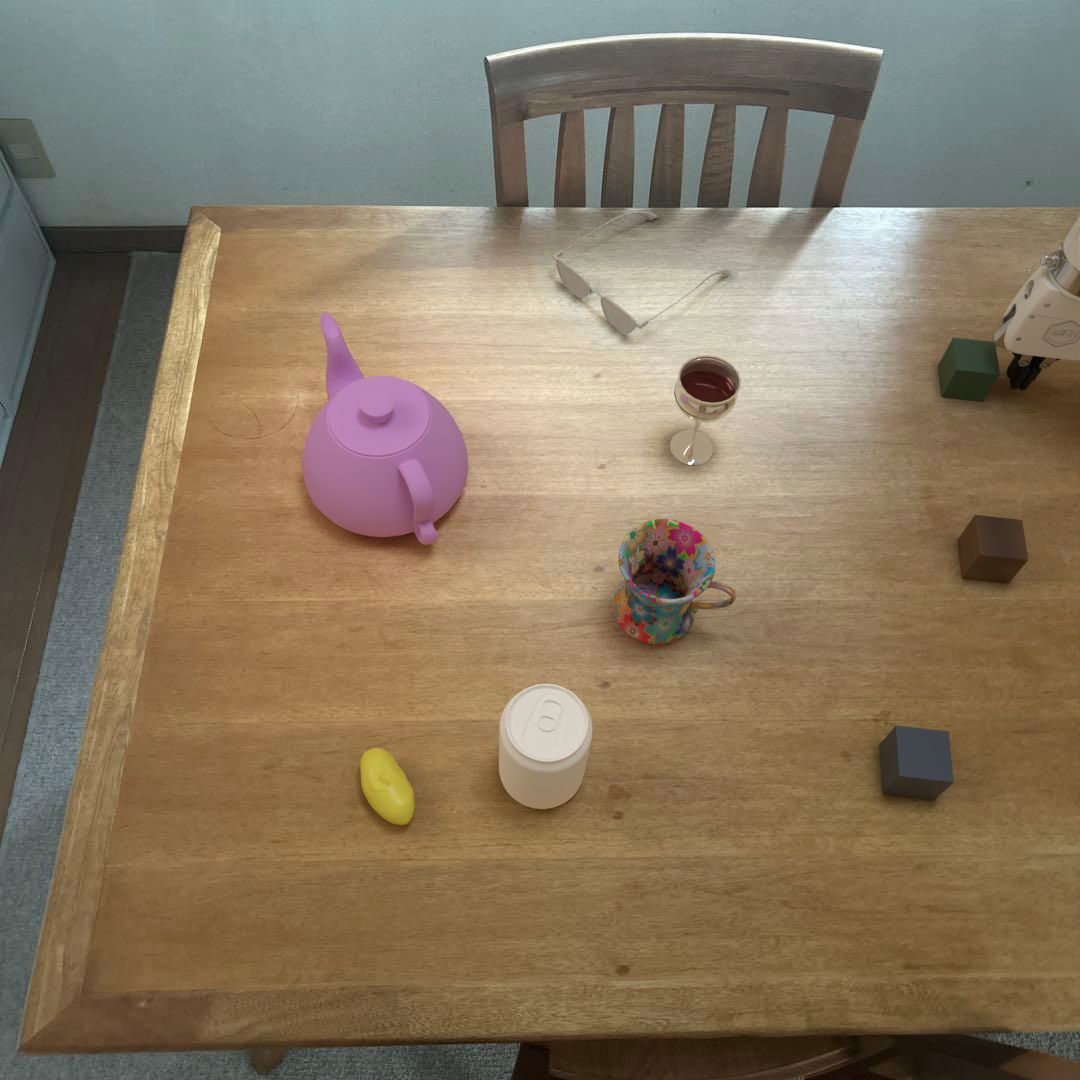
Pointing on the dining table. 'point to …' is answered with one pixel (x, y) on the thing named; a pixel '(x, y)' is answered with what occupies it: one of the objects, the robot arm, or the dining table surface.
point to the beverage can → (544, 745)
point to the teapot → (381, 451)
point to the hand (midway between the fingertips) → (1016, 380)
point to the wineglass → (703, 403)
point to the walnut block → (992, 549)
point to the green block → (968, 369)
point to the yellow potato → (386, 786)
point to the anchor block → (916, 762)
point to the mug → (664, 580)
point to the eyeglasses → (610, 308)
